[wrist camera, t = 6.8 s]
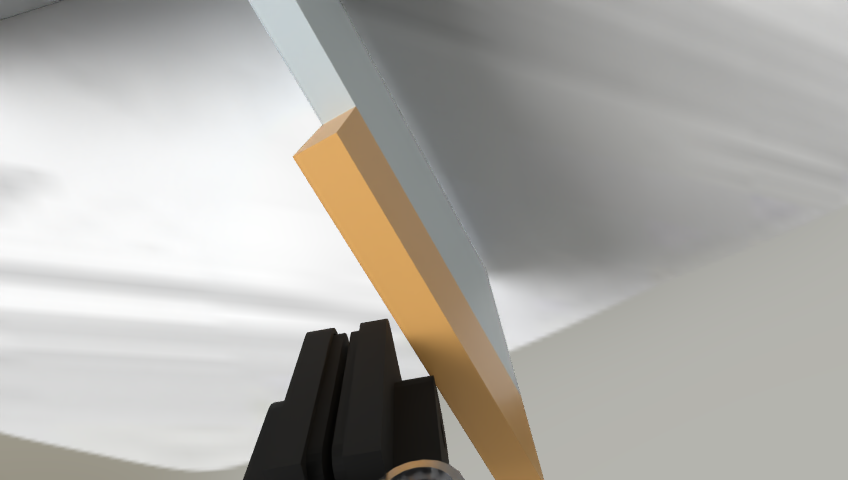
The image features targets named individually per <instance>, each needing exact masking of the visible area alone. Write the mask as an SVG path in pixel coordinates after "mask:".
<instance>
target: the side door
mask: <svg viewBox="0 0 848 480" xmlns="http://www.w3.org/2000/svg"><path fill="white" fill-rule="evenodd" d="M248 1H249V3H250V4H251V6H252V8H253V9H254V11H255V13H256V15H257V16H258V18H259V20H260V21H261V23H262V25H263V26H264V28H265V30H266V31H267V33H268V35H269V36H270V38H271V40H272V41H273V43H274V45H275V46H276V48H277V50H278V51H279V53H280V55H281V56H282V58H283V60H284V61H285V63H286V65H287V66H288V68H289V70H290V71H291V73H292V75H293V77H294V78H295V80H296V82H297V83H298V85H299V87H300V88H301V90H302V92H303V93H304V95H305V97H306V98H307V100H308V102H309V103H310V105H311V107H312V108H313V110H314V112H315V113H316V115H317V117H318V118H319V120H320V122H321V123H322V126H321V127H320V128H319V129H318V130H317V131H316V132H315V133H314V134H313V136H312V137H311V138H310V139H309V140H308V141H307V142H306V143H305V144H304V145H303V146H302V147H301V148H300V149H299V150H298V152H297V153H296V154H295V155H294V156H293V158H294V160H295V161H296V163H297V164H298V166H299V168H300V169H301V171H302V172H303V174H304V176H305V177H306V179H307V180H308V182H309V184H310V185H311V187H312V188H313V190H314V192H315V193H316V195H317V196H318V198H319V200H320V201H321V203H322V204H323V206H324V208H325V209H326V211H327V212H328V214H329V215H330V217H331V219H332V220H333V222H334V223H335V225H336V227H337V228H338V230H339V231H340V233H341V235H342V236H343V238H344V239H345V241H346V243H347V244H348V246H349V247H350V249H351V251H352V252H353V254H354V255H355V257H356V259H357V260H358V262H359V263H360V265H361V266H362V268H363V270H364V271H365V273H366V274H367V276H368V278H369V279H370V281H371V282H372V284H373V286H374V287H375V289H376V290H377V292H378V294H379V295H380V297H381V298H382V300H383V302H384V303H385V305H386V306H387V308H388V310H389V311H390V313H391V314H392V316H393V317H394V319H395V321H396V322H397V324H398V325H399V327H400V329H401V330H402V332H403V333H404V335H405V337H406V338H407V340H408V341H409V343H410V345H411V346H412V348H413V349H414V351H415V353H416V354H417V356H418V357H419V359H420V361H421V362H422V364H423V365H424V367H425V368H426V370H427V372H428V373H429V375H430V376H432V375H434V379H435V384H436V386H437V388H438V389H439V391H440V392H441V394H442V396H443V397H444V399H445V400H446V402H447V403H448V405H449V407H450V408H451V410H452V412H453V413H454V415H455V416H456V418H457V419H458V421H459V423H460V424H461V426H462V427H463V429H464V431H465V432H466V434H467V435H468V437H469V439H470V440H471V442H472V443H473V445H474V446H475V448H476V450H477V451H478V453H479V455H480V456H481V458H482V459H483V461H484V463H485V464H486V466H487V467H488V469H489V470H490V472H491V474H492V475H493V477H494V478H495V480H544V478H543V474H542V471H541V467H540V464H539V460H538V456H537V453H536V449H535V445H534V442H533V438H532V434H531V431H530V427H529V424H528V420H527V417H526V413H525V409H524V405H523V402H522V398H521V395H520V391H519V387H518V384H517V381H516V377H515V373H514V369H513V366H512V362H511V358H510V355H509V351H508V347H507V344H506V340H505V337H504V333H503V329H502V326H501V322H500V318H499V315H498V311H497V308H496V304H495V300H494V297H493V293H492V289H491V286H490V282H489V279H488V275H487V271H486V269H485V267H484V265H483V263H482V261H481V259H480V258H479V256H478V254H477V252H476V250H475V248H474V247H473V245H472V243H471V241H470V239H469V237H468V235H467V234H466V232H465V230H464V228H463V226H462V224H461V223H460V221H459V219H458V217H457V215H456V213H455V212H454V210H453V208H452V206H451V204H450V202H449V201H448V199H447V197H446V195H445V193H444V191H443V190H442V188H441V186H440V184H439V182H438V180H437V178H436V177H435V175H434V173H433V171H432V169H431V167H430V166H429V164H428V162H427V160H426V158H425V156H424V155H423V153H422V151H421V149H420V147H419V145H418V144H417V142H416V140H415V138H414V136H413V134H412V133H411V131H410V129H409V127H408V125H407V123H406V122H405V120H404V118H403V116H402V114H401V112H400V110H399V109H398V107H397V105H396V103H395V101H394V99H393V98H392V96H391V94H390V92H389V90H388V88H387V87H386V85H385V83H384V81H383V79H382V77H381V76H380V74H379V72H378V70H377V68H376V66H375V65H374V63H373V61H372V59H371V57H370V55H369V53H368V52H367V50H366V48H365V46H364V44H363V42H362V41H361V39H360V37H359V35H358V33H357V31H356V30H355V28H354V26H353V24H352V22H351V20H350V19H349V17H348V15H347V13H346V11H345V9H344V8H343V6H342V4H341V2H340V0H248Z"/></svg>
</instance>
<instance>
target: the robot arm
mask: <svg viewBox="0 0 848 480" xmlns="http://www.w3.org/2000/svg"><path fill="white" fill-rule="evenodd" d="M243 480H465V479H464V478H463V476H462V475H461V473H460V472H459V471H458V470H456V469H455V468H454V467H452V466H451V465H450V464H449V459H448V451H447V444H446V437H445V431H444V425H443V419H442V413H441V409H440V403H439V398H438V392H437V387H436V384H435V379H434V375H432V376H427V377H421V378H415V379H409V380H404V381H402V379H401V375H400V370H399V365H398V361H397V356H396V351H395V347H394V342H393V338H392V333H391V328H390V324H389V321H388V319H382V320H377V321H371V322H365V323H361V324H360V329H359V331H355V332H351V336H350V342H349V340H348V337H347V334H346V333H343V334H337V331H336V329H335V328H330V329H324V330H319V331H313V332H307V334H306V336H305V339H304V342H303V345H302V348H301V351H300V354H299V357H298V360H297V363H296V367H295V370H294V373H293V376H292V379H291V382H290V385H289V388H288V391H287V394H286V397H285V400H284V401H281V402H275V403H273V404H271V405H270V407H269V409H268V412H267V415H266V418H265V420H264V423H263V426H262V429H261V431H260V434H259V437H258V440H257V442H256V445H255V448H254V451H253V454H252V456H251V459H250V462H249V465H248V467H247V470H246V473H245V476H244V479H243Z"/></svg>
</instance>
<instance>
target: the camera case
mask: <svg viewBox="0 0 848 480" xmlns="http://www.w3.org/2000/svg"><path fill="white" fill-rule="evenodd" d="M59 1H62V0H0V20H2V19H5V18H8V17H11V16H14V15H18V14H21V13H24V12H27V11H30V10H33V9H37V8H40V7H43V6H46V5H49V4H52V3H56V2H59Z"/></svg>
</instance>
